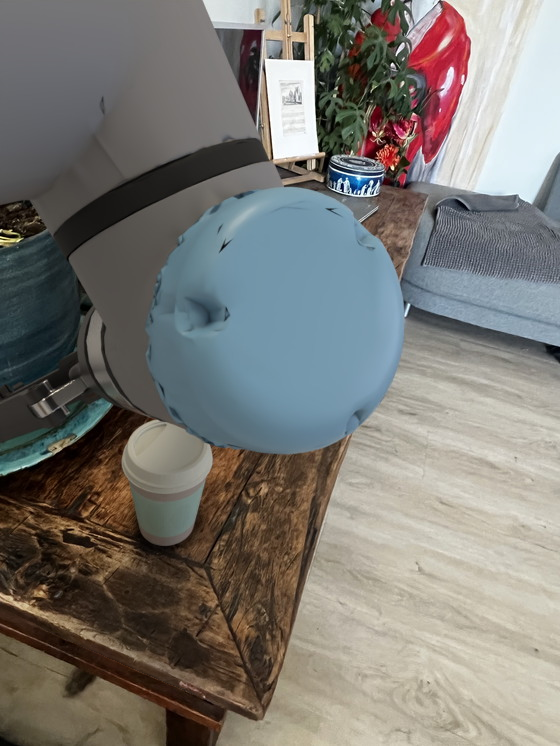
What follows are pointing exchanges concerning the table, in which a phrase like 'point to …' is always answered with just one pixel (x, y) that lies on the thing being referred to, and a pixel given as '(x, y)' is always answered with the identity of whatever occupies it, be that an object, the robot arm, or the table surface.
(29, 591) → the table surface
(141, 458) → the coffee cup
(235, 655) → the table surface
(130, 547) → the table surface
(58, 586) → the table surface
